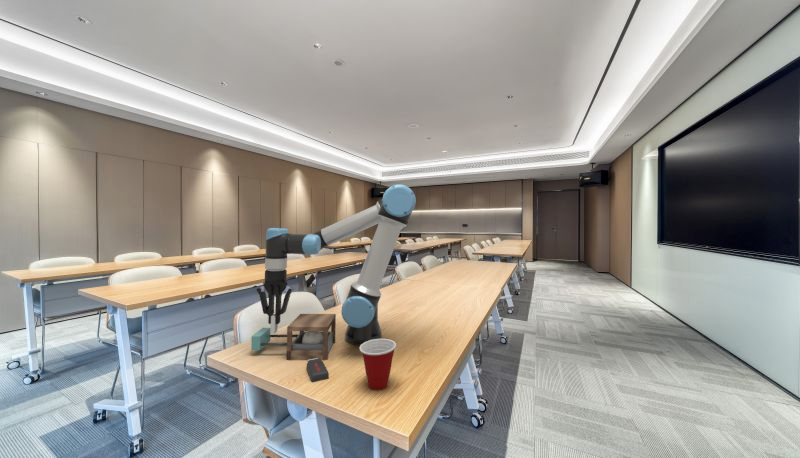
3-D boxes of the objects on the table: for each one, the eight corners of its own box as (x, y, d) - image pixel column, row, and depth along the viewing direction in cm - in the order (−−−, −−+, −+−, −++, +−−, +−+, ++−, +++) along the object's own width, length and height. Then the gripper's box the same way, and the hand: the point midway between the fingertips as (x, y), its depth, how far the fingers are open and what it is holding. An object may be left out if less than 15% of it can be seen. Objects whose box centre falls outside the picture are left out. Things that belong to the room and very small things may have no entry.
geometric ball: (311, 355, 109) (315, 334, 114) (326, 352, 106) (329, 330, 111) (295, 351, 104) (299, 329, 109) (310, 347, 101) (314, 325, 106)
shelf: (335, 342, 115) (335, 313, 115) (327, 359, 100) (327, 327, 100) (300, 342, 115) (300, 313, 115) (286, 360, 99) (287, 326, 99)
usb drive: (311, 383, 85) (311, 374, 85) (304, 366, 96) (304, 358, 96) (328, 379, 88) (329, 370, 88) (320, 363, 98) (320, 355, 98)
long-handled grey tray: (332, 343, 114) (333, 326, 114) (326, 357, 101) (326, 338, 101) (264, 343, 113) (264, 326, 113) (248, 357, 100) (249, 338, 100)
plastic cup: (359, 375, 90) (360, 337, 90) (394, 375, 90) (394, 337, 90) (357, 396, 79) (358, 352, 79) (396, 394, 80) (397, 351, 80)
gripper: (296, 268, 111) (294, 329, 111) (262, 267, 110) (260, 328, 110) (290, 271, 103) (288, 336, 103) (253, 270, 103) (251, 335, 103)
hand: (273, 332), depth 107 cm, fingers closed
